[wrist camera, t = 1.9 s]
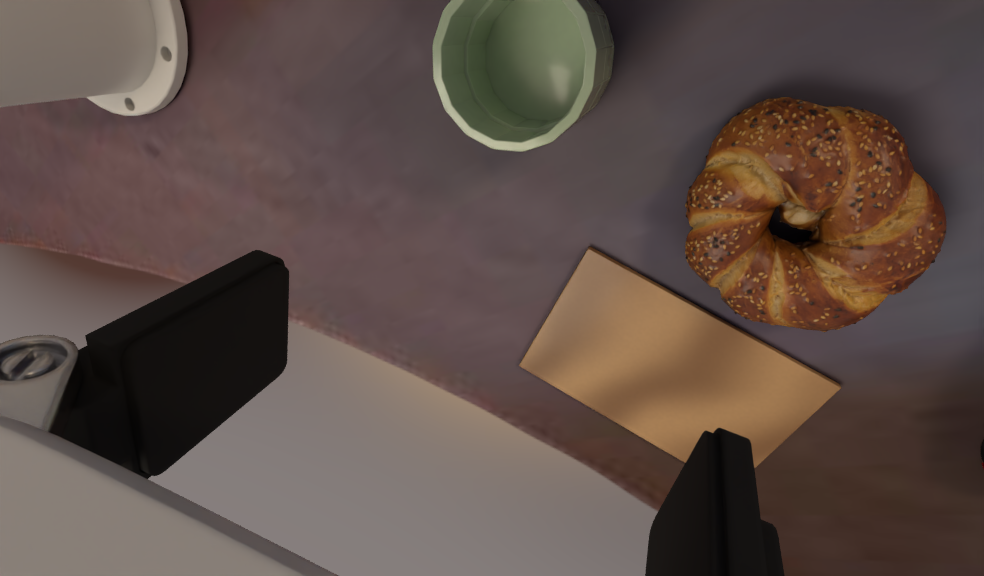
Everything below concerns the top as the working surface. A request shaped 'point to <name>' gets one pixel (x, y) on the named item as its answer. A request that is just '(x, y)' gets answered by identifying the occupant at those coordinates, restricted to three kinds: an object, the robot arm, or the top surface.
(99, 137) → the top surface
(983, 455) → the race car
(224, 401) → the robot arm
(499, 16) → the green cup
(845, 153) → the seeded bagel
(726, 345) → the cork mat
